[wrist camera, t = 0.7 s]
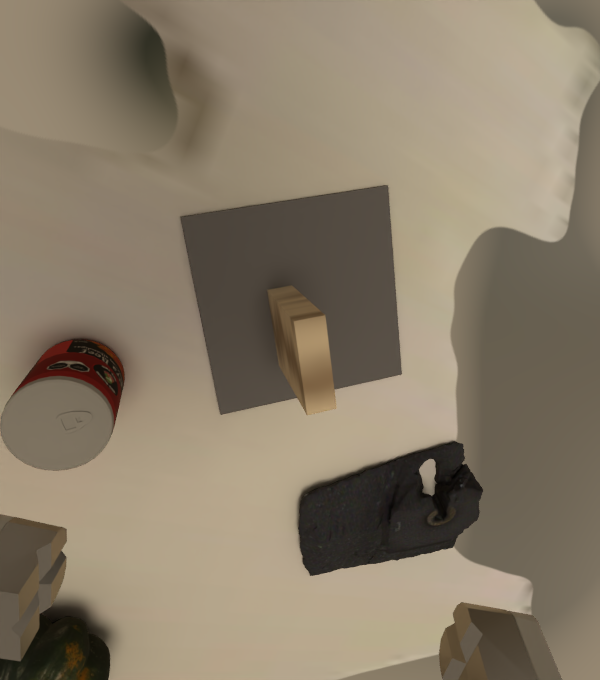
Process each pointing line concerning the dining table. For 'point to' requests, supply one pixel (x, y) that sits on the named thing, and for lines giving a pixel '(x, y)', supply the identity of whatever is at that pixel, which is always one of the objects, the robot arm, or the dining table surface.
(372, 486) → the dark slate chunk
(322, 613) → the dining table surface
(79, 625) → the squash
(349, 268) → the rubber mat
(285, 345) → the beech tile
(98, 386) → the canned food
